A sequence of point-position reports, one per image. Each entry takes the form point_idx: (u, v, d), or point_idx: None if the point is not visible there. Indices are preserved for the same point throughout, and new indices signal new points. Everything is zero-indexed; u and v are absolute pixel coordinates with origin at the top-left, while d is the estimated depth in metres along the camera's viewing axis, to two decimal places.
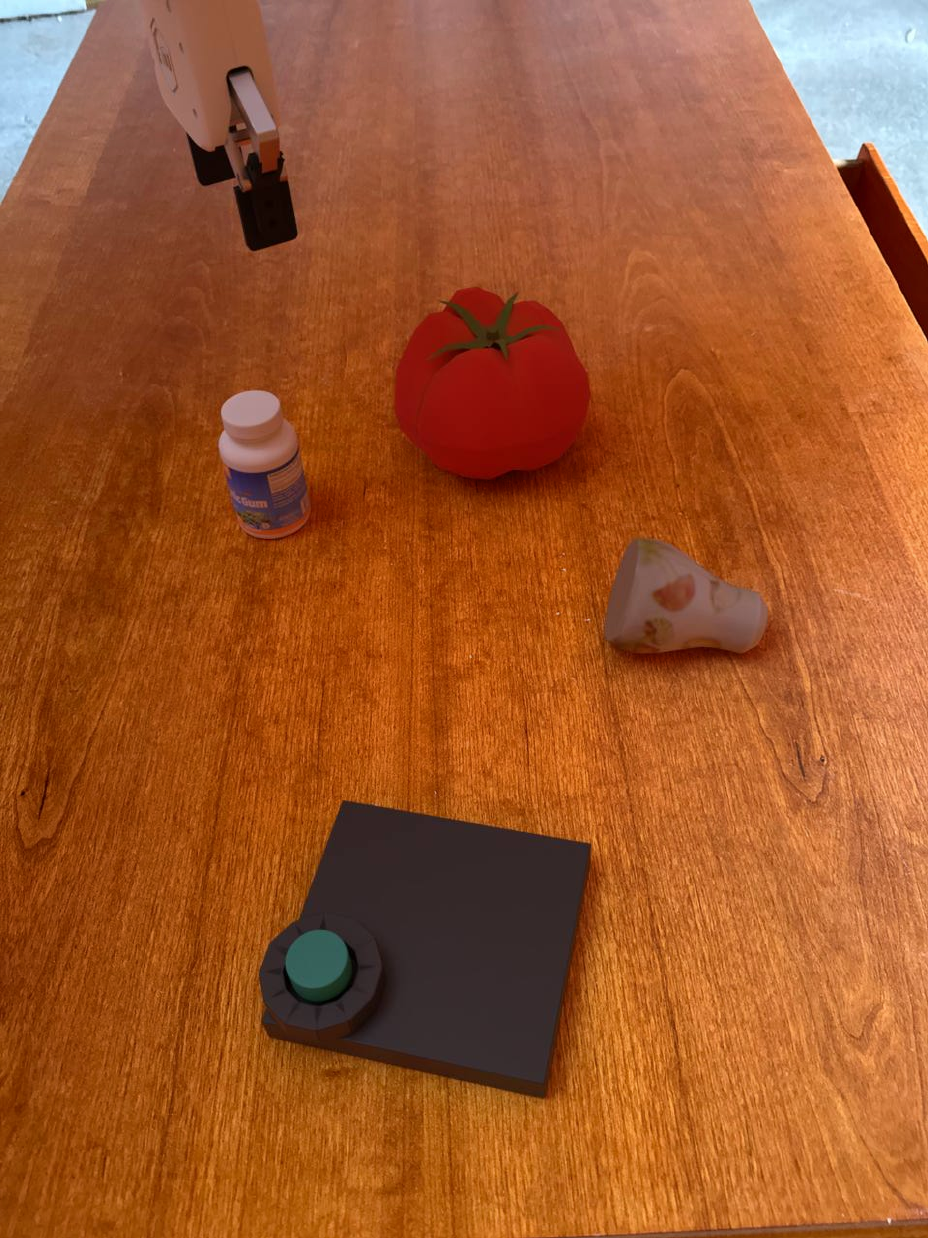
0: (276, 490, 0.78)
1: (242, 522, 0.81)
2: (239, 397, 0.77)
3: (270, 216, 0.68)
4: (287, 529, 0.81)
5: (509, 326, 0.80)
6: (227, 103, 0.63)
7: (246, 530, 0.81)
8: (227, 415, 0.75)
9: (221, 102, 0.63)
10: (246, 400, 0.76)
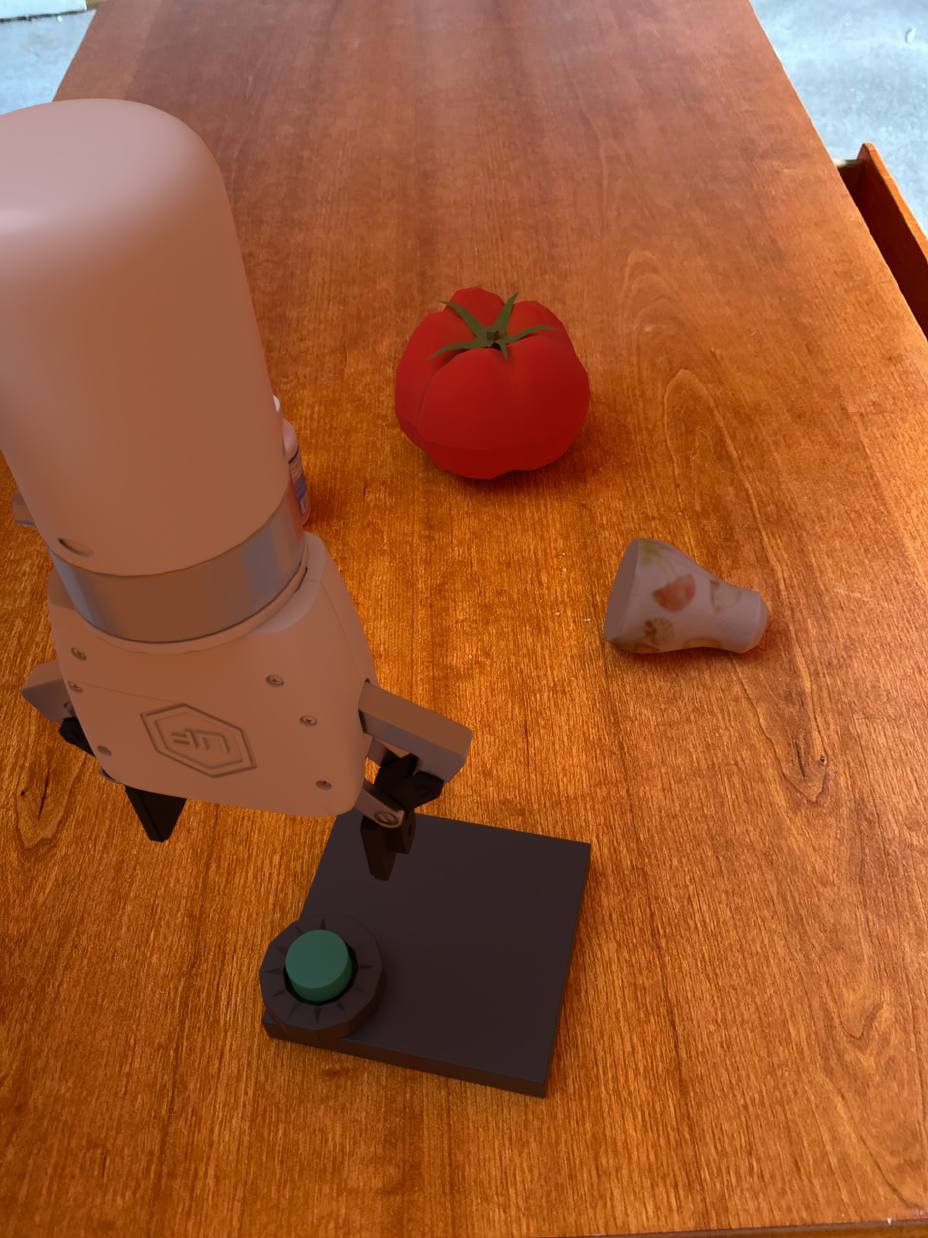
0: None
1: None
2: None
3: (408, 825, 0.45)
4: None
5: (509, 326, 0.80)
6: (362, 742, 0.40)
7: None
8: None
9: (359, 747, 0.39)
10: None
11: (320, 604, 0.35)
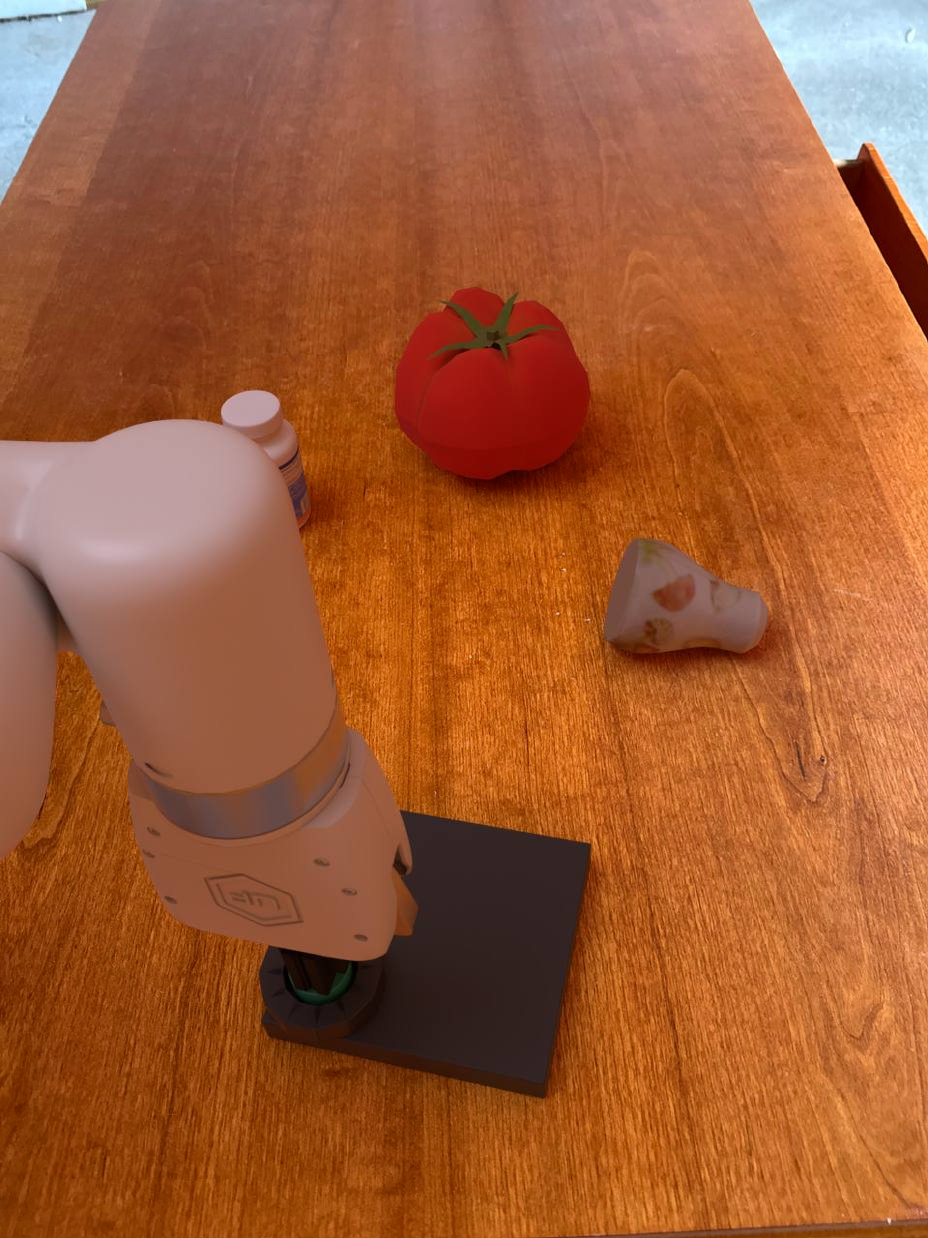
0: None
1: None
2: (239, 397, 0.77)
3: None
4: None
5: (509, 326, 0.80)
6: (394, 899, 0.46)
7: None
8: (227, 415, 0.75)
9: (392, 904, 0.45)
10: (246, 400, 0.76)
11: (361, 798, 0.41)
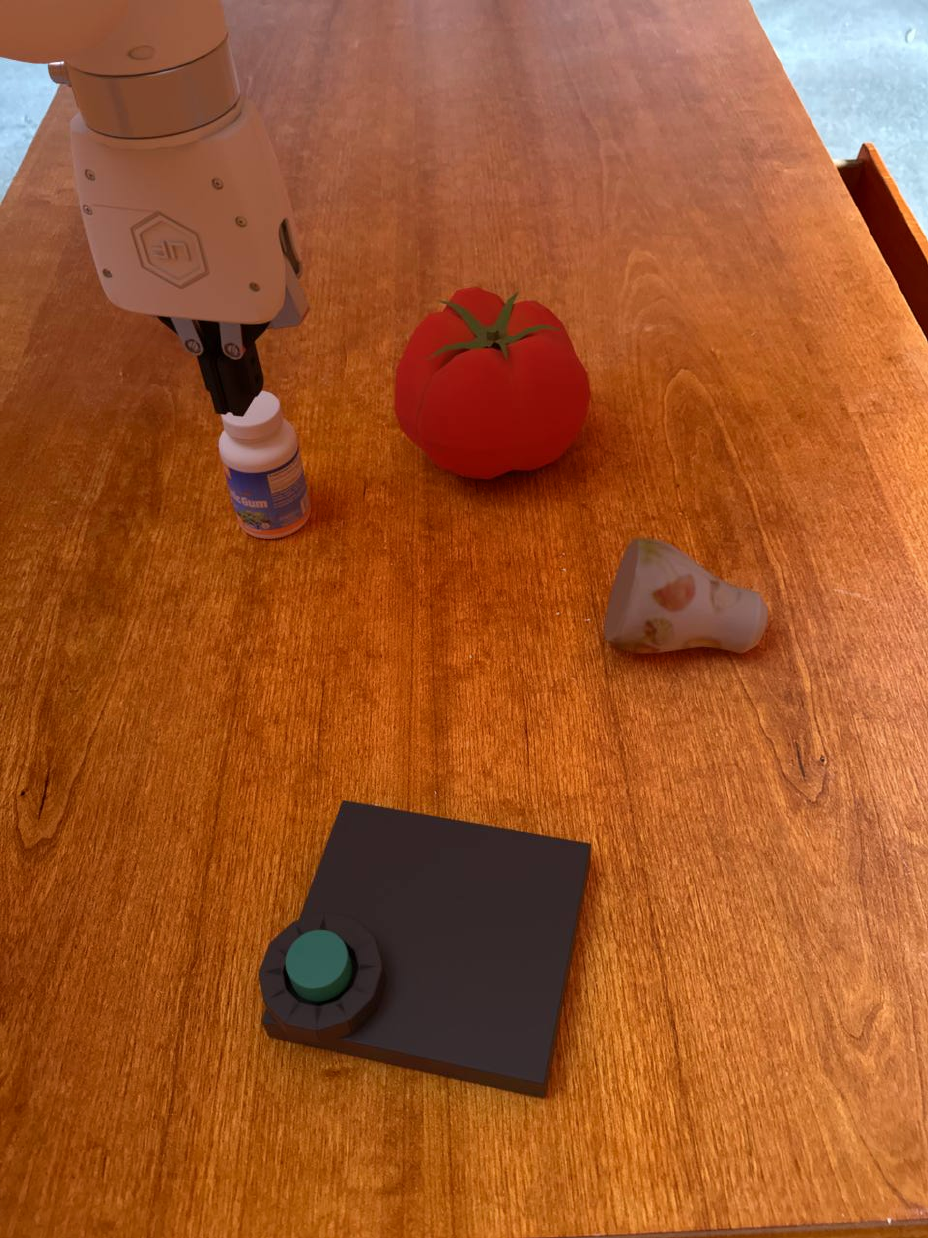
0: (276, 490, 0.78)
1: (242, 522, 0.81)
2: None
3: (254, 373, 0.65)
4: (287, 529, 0.81)
5: (509, 326, 0.80)
6: (282, 262, 0.58)
7: (246, 530, 0.81)
8: (227, 415, 0.75)
9: (279, 263, 0.58)
10: None
11: (248, 131, 0.53)
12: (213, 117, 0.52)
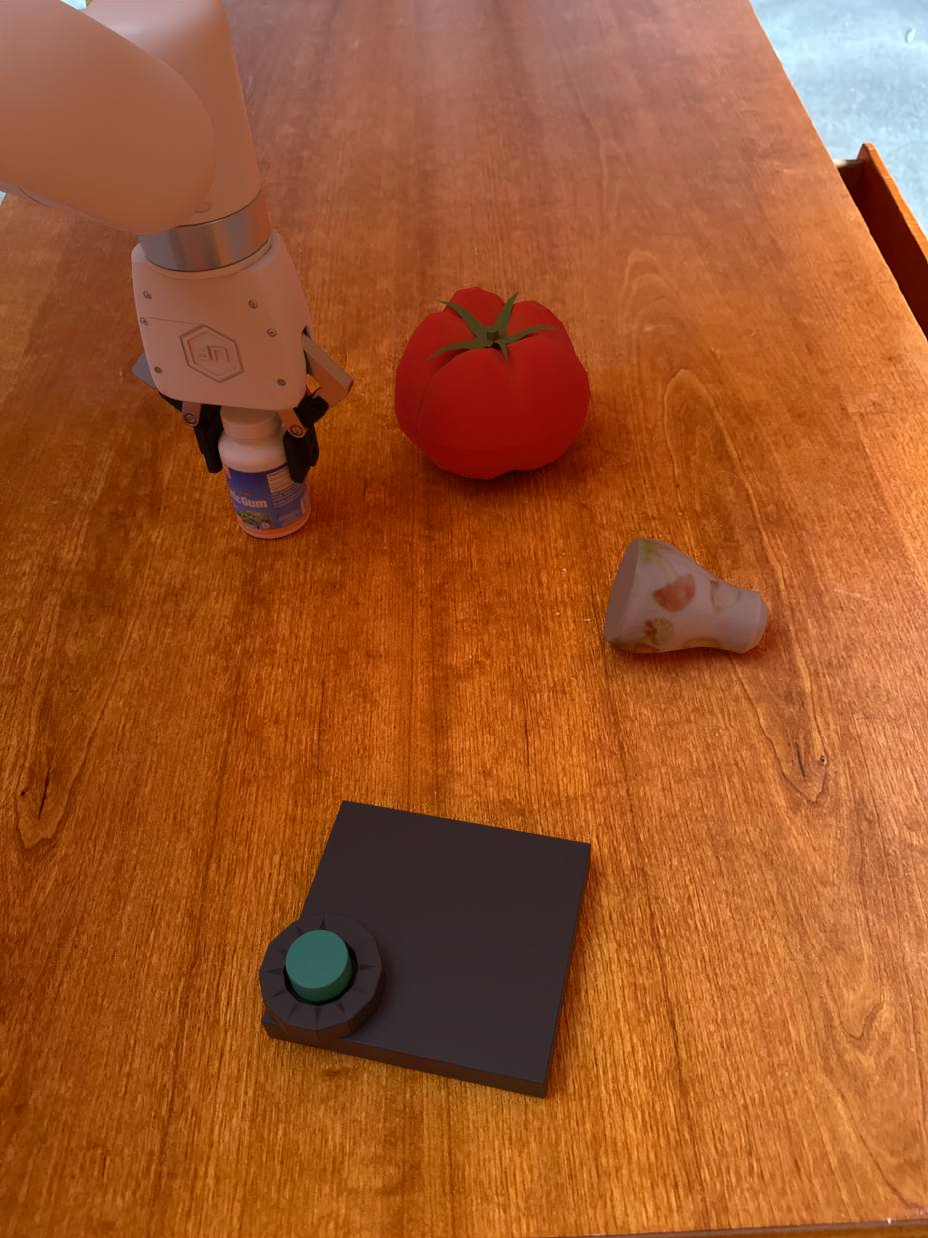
0: (275, 490, 0.78)
1: (242, 522, 0.81)
2: None
3: (312, 447, 0.77)
4: (287, 529, 0.81)
5: (509, 326, 0.80)
6: (304, 361, 0.70)
7: (246, 530, 0.81)
8: (226, 415, 0.75)
9: (301, 362, 0.70)
10: None
11: (277, 261, 0.66)
12: (250, 253, 0.65)
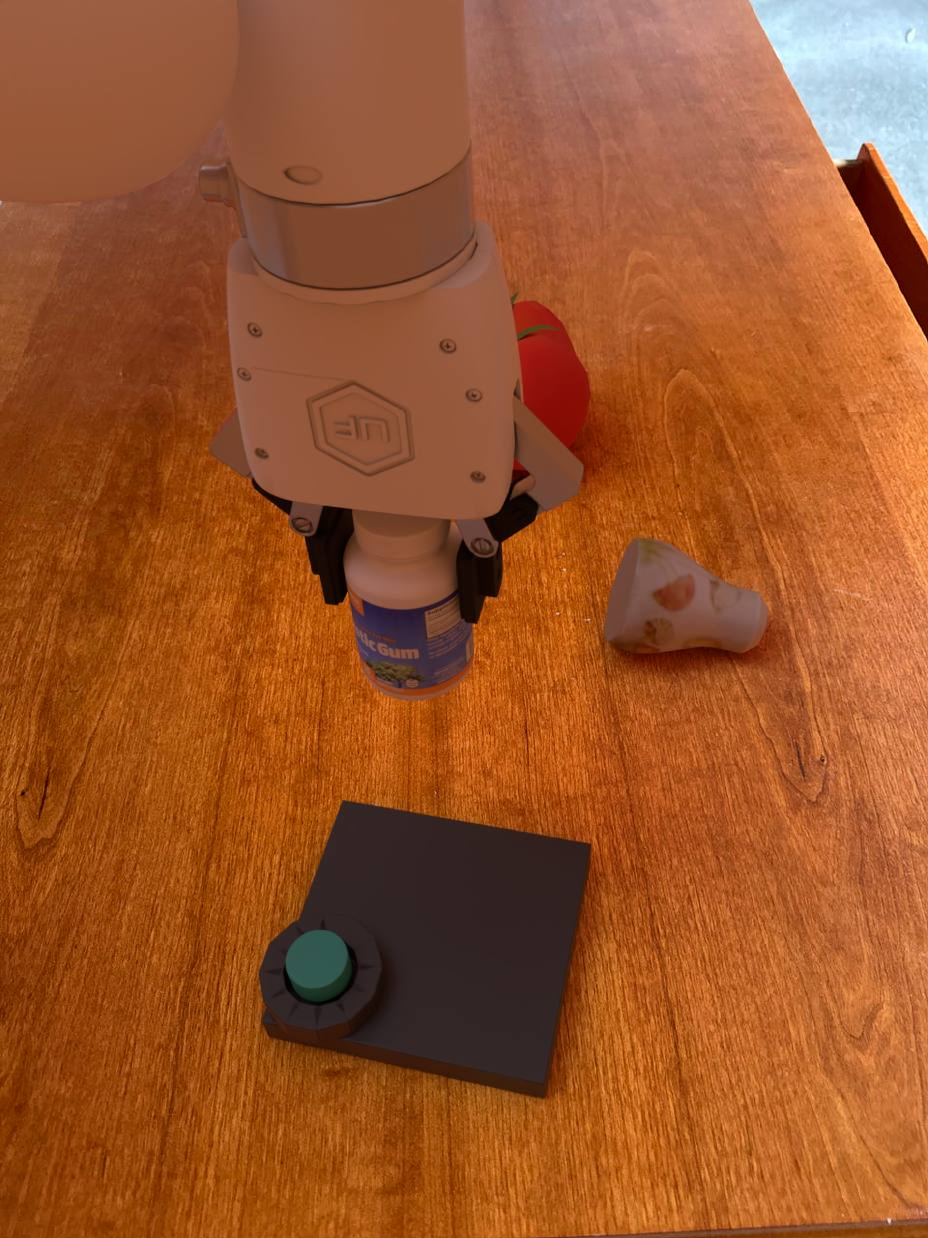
0: (435, 634, 0.49)
1: (373, 676, 0.52)
2: None
3: (498, 567, 0.48)
4: (444, 687, 0.52)
5: None
6: (513, 440, 0.41)
7: (378, 687, 0.52)
8: (364, 519, 0.46)
9: (511, 442, 0.41)
10: None
11: (493, 271, 0.37)
12: (450, 255, 0.36)
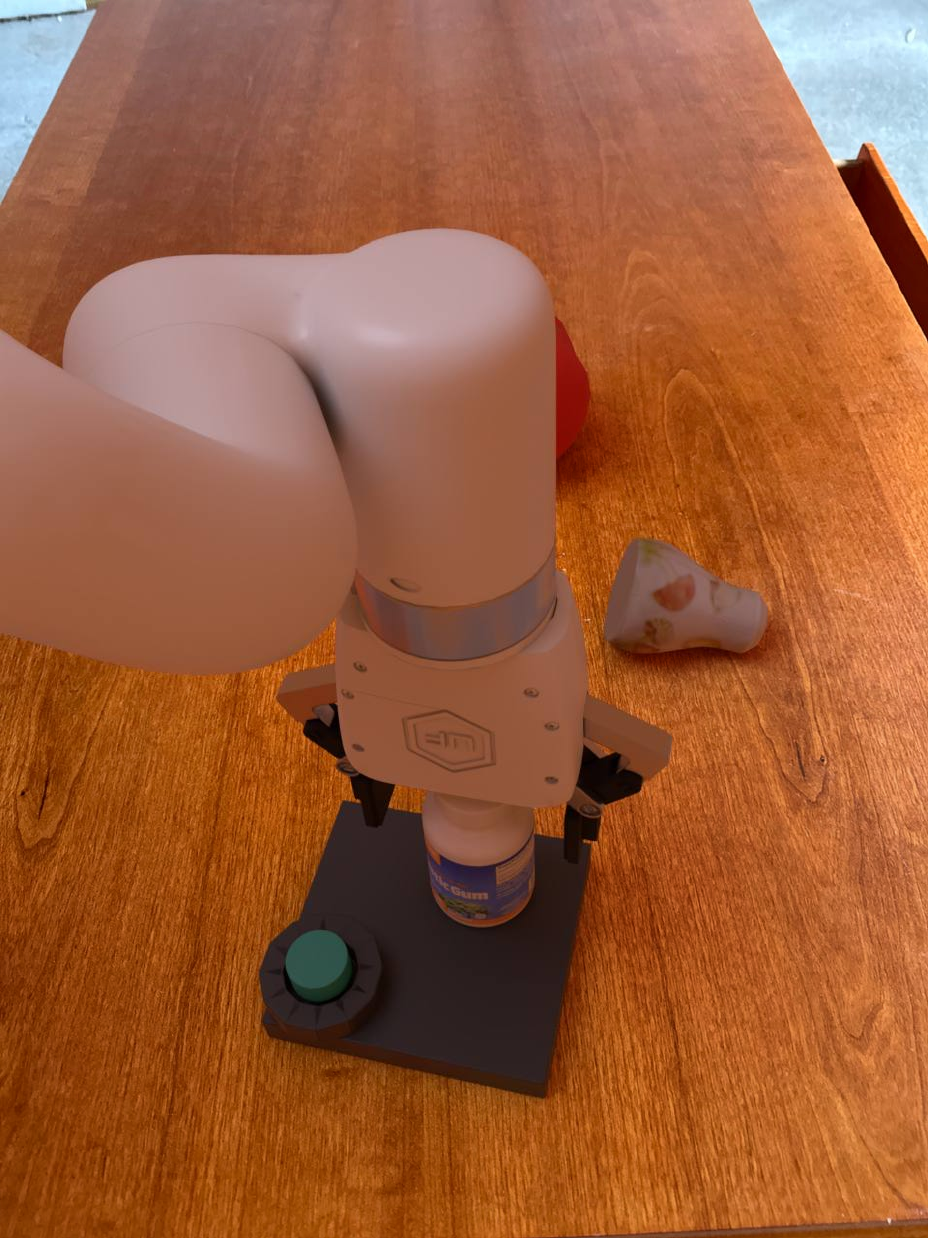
0: (503, 881, 0.55)
1: (444, 906, 0.57)
2: None
3: (599, 816, 0.52)
4: (508, 916, 0.57)
5: None
6: (582, 744, 0.47)
7: (449, 915, 0.58)
8: None
9: (581, 748, 0.46)
10: None
11: (571, 629, 0.42)
12: (536, 625, 0.41)
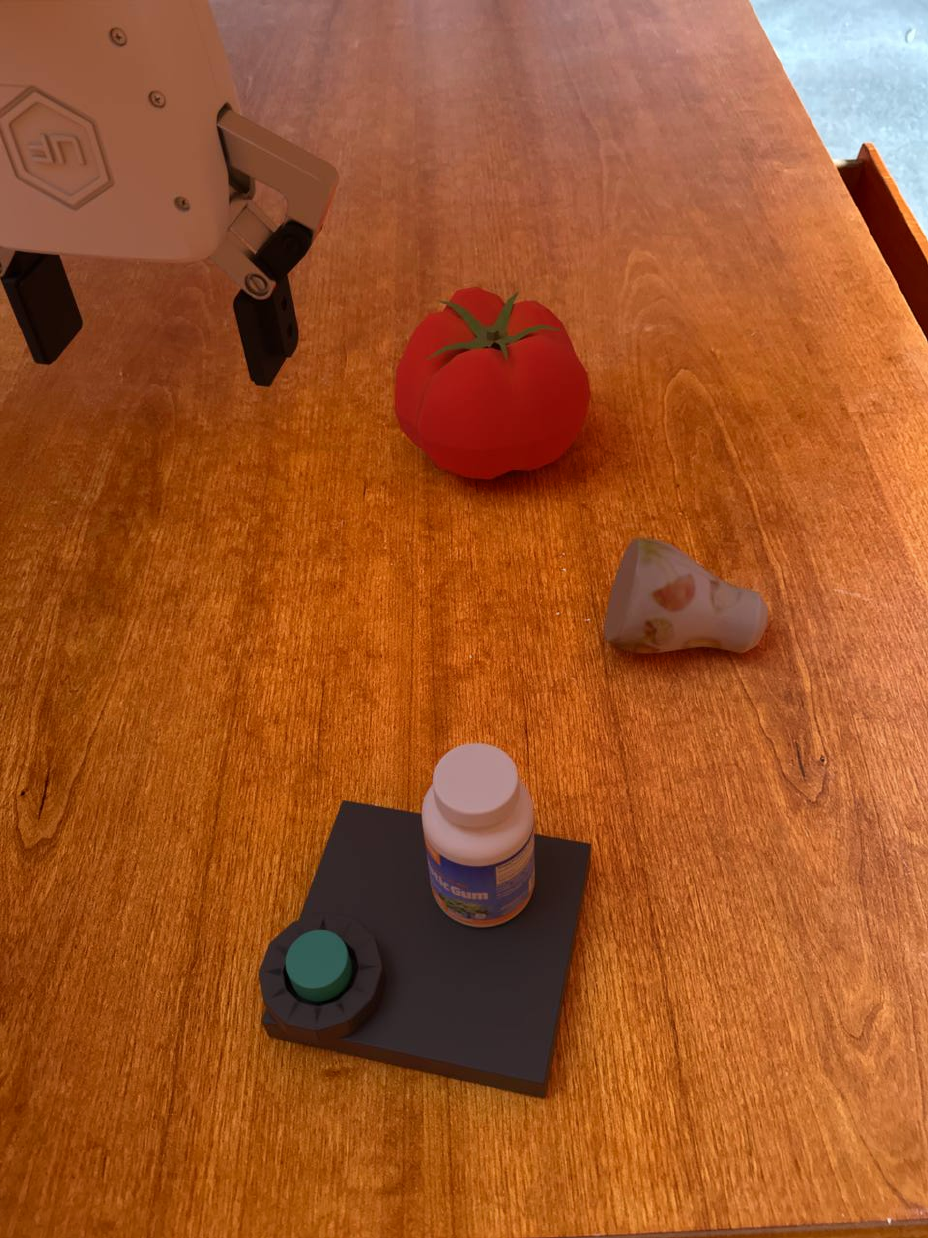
0: (503, 881, 0.55)
1: (444, 906, 0.57)
2: (456, 757, 0.53)
3: (287, 322, 0.45)
4: (508, 916, 0.57)
5: (509, 326, 0.80)
6: (224, 169, 0.39)
7: (449, 915, 0.58)
8: (444, 792, 0.52)
9: (219, 169, 0.39)
10: (468, 764, 0.53)
11: None
12: None
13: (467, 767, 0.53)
